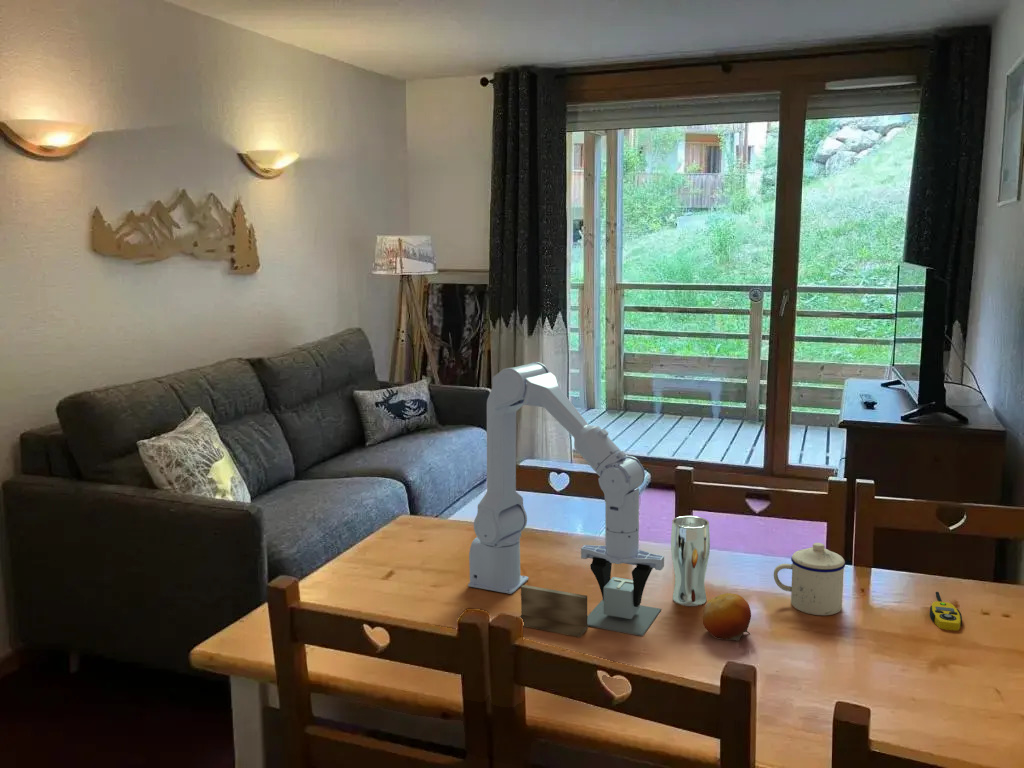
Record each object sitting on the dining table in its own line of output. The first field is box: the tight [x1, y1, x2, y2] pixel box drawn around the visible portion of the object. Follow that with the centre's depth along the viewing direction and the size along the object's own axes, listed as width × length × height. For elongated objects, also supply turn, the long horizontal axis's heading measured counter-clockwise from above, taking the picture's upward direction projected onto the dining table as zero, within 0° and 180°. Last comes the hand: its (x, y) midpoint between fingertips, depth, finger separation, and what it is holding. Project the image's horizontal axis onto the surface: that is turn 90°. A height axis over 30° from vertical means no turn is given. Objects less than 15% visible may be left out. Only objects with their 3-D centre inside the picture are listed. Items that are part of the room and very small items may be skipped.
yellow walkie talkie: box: [929, 591, 963, 632], centre depth 151 cm, size 5×2×15 cm
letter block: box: [604, 576, 641, 619], centre depth 151 cm, size 5×5×5 cm
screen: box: [519, 584, 588, 638], centre depth 148 cm, size 12×4×6 cm, turn 64°
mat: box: [587, 598, 662, 637], centre depth 151 cm, size 11×11×1 cm
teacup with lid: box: [773, 542, 846, 616], centre depth 154 cm, size 12×9×12 cm
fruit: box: [701, 592, 752, 642], centre depth 144 cm, size 8×8×8 cm
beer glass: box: [670, 515, 711, 607], centre depth 157 cm, size 7×7×15 cm
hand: (621, 601), depth 151 cm, fingers closed on letter block, 5 cm apart
